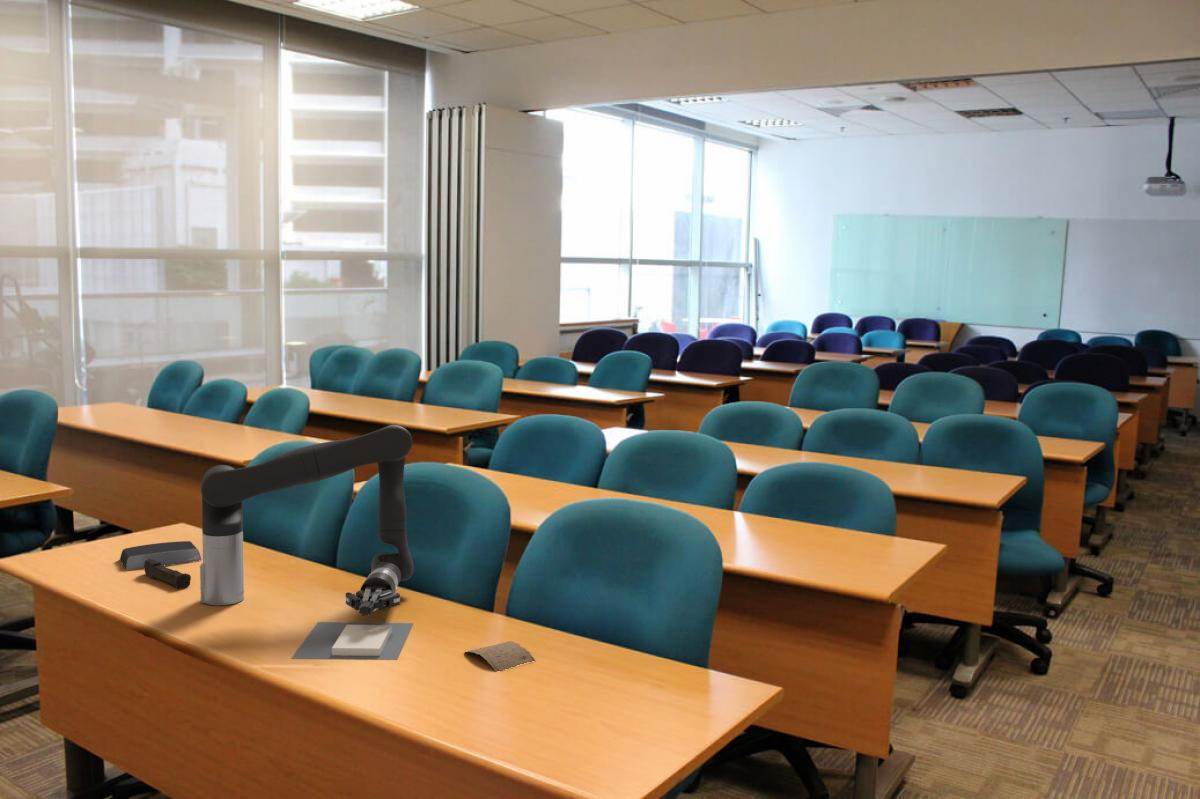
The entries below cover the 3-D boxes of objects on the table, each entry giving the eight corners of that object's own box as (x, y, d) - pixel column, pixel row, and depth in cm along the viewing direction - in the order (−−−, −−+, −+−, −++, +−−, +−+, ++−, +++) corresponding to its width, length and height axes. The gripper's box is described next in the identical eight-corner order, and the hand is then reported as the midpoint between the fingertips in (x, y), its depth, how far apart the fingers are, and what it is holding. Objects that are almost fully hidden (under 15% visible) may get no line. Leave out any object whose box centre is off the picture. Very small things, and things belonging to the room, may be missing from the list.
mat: (290, 660, 199) (290, 658, 199) (318, 624, 221) (318, 621, 221) (397, 662, 200) (397, 659, 200) (413, 625, 222) (413, 623, 222)
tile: (346, 631, 215) (331, 655, 201) (346, 624, 215) (331, 648, 201) (391, 632, 215) (379, 656, 202) (391, 625, 215) (379, 648, 201)
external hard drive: (202, 563, 268) (202, 548, 267) (126, 572, 257) (125, 558, 256) (193, 551, 278) (192, 538, 278) (119, 560, 268) (118, 546, 267)
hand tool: (191, 587, 245) (191, 569, 245) (176, 591, 242) (176, 573, 242) (155, 572, 257) (155, 555, 257) (140, 575, 254) (140, 558, 253)
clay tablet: (537, 665, 202) (538, 653, 201) (498, 677, 195) (498, 664, 195) (498, 645, 212) (498, 633, 212) (460, 655, 206) (460, 643, 206)
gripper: (351, 571, 226) (334, 594, 209) (408, 572, 227) (395, 595, 209) (351, 602, 227) (334, 627, 210) (407, 602, 227) (395, 628, 210)
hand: (365, 611), depth 209 cm, fingers closed
